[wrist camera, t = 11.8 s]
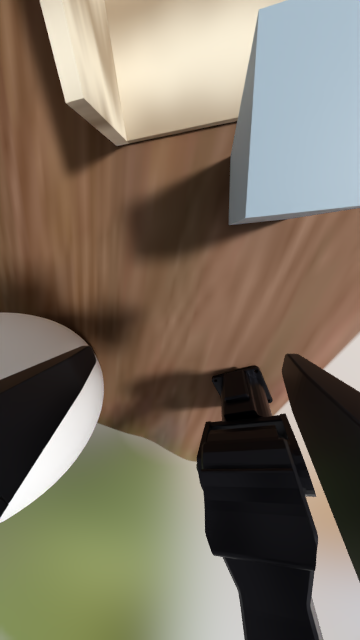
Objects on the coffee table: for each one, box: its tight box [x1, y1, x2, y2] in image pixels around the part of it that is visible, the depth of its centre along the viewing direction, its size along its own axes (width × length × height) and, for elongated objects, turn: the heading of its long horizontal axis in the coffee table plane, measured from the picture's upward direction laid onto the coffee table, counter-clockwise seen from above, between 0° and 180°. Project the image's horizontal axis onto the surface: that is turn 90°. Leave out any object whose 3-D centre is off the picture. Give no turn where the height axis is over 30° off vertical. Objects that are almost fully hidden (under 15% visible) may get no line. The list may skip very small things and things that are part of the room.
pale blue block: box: [229, 0, 360, 225], centre depth 10 cm, size 5×5×11 cm
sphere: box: [0, 313, 104, 523], centre depth 19 cm, size 20×20×20 cm
